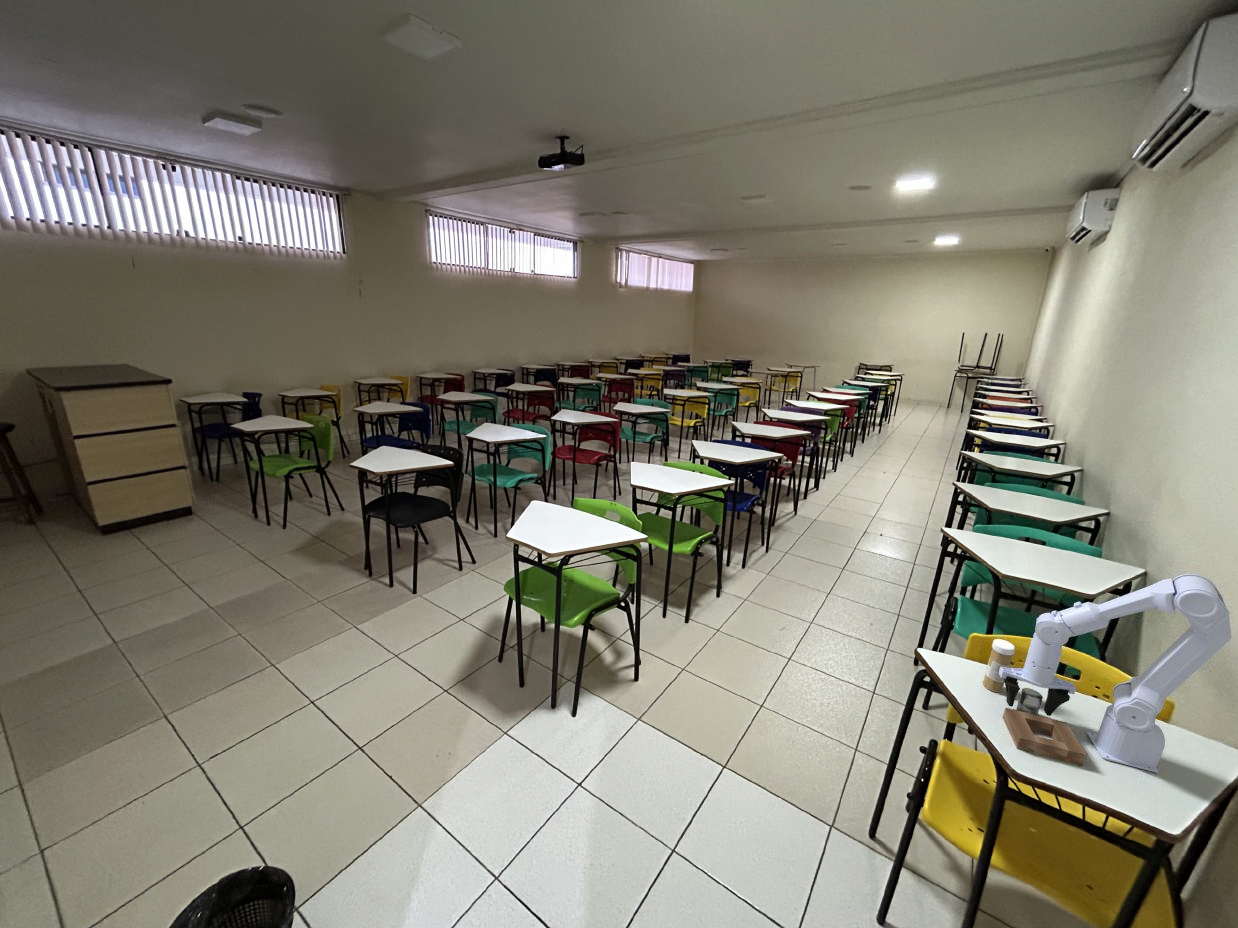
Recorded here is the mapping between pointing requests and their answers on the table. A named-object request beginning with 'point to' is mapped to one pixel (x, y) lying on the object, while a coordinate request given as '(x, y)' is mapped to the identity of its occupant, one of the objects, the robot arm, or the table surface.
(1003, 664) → the sprinkles bottle
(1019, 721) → the socket block
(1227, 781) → the table surface
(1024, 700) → the peg
